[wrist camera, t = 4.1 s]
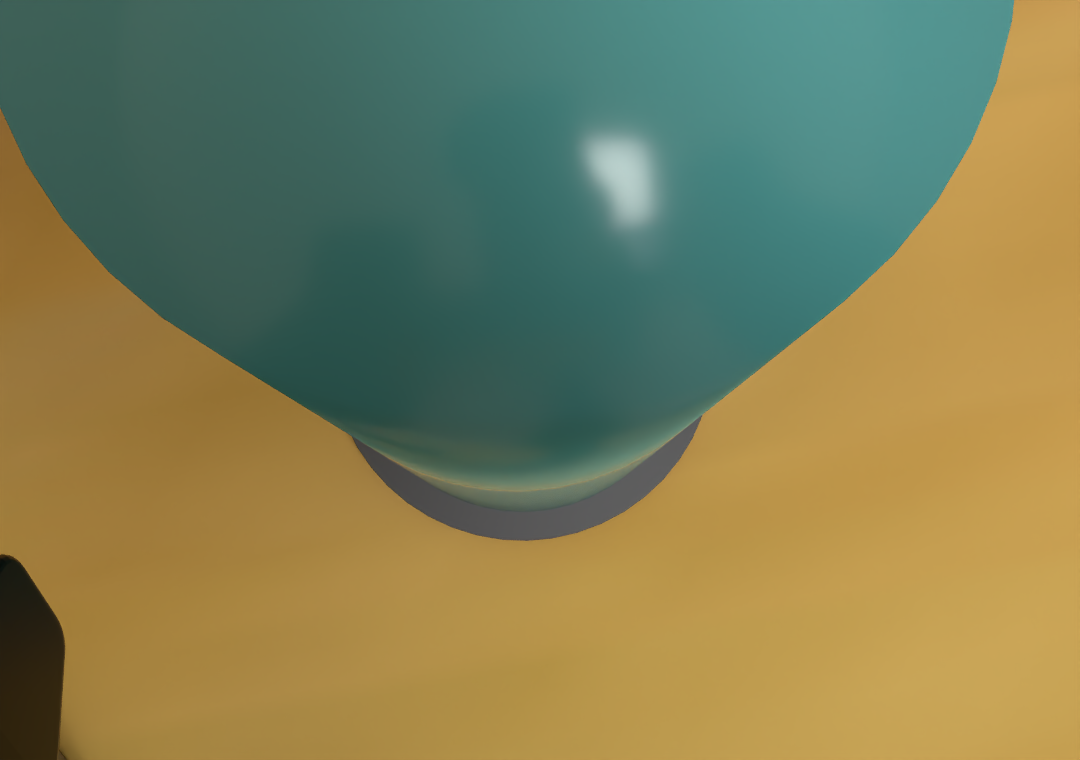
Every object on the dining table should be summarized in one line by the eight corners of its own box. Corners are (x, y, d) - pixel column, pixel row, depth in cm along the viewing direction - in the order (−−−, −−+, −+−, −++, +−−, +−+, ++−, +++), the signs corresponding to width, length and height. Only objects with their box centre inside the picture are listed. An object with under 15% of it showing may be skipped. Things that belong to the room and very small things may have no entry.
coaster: (665, 580, 18) (668, 581, 18) (292, 489, 19) (286, 488, 18) (743, 220, 20) (747, 212, 19) (390, 138, 20) (388, 129, 19)
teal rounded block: (646, 547, 18) (918, 544, 5) (320, 467, 18) (-181, 279, 5) (716, 231, 19) (1090, -421, 6) (406, 159, 19) (149, -618, 6)
